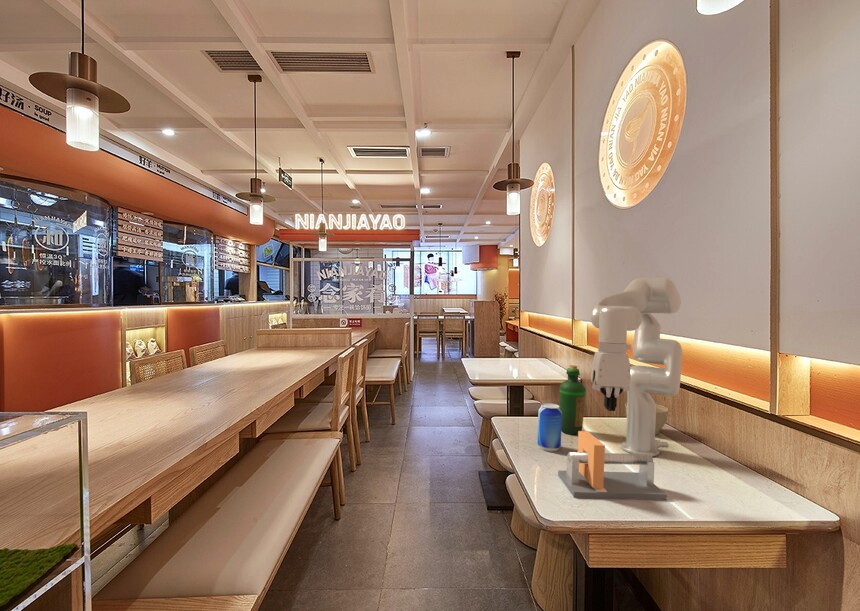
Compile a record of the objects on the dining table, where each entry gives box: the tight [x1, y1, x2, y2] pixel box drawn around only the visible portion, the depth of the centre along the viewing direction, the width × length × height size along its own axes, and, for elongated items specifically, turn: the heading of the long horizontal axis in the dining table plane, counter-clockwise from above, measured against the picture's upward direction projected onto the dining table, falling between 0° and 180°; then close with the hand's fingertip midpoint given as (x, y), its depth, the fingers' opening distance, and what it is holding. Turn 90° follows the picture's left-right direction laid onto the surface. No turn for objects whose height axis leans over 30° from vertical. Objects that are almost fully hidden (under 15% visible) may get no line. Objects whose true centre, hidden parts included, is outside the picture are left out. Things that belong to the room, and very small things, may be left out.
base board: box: [557, 469, 668, 500], centre depth 118 cm, size 26×14×2 cm, turn 90°
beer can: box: [537, 402, 562, 452], centre depth 148 cm, size 8×8×16 cm
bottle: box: [559, 364, 587, 436], centre depth 167 cm, size 11×11×28 cm
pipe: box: [566, 451, 655, 486], centre depth 118 cm, size 24×4×9 cm, turn 90°
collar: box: [577, 430, 606, 488], centre depth 118 cm, size 3×12×12 cm, turn 0°
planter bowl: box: [624, 402, 669, 436], centre depth 170 cm, size 16×16×11 cm
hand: (610, 409), depth 118 cm, fingers closed
